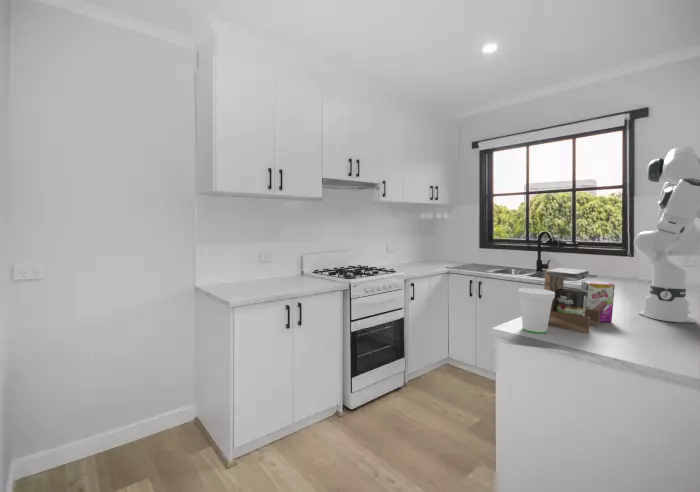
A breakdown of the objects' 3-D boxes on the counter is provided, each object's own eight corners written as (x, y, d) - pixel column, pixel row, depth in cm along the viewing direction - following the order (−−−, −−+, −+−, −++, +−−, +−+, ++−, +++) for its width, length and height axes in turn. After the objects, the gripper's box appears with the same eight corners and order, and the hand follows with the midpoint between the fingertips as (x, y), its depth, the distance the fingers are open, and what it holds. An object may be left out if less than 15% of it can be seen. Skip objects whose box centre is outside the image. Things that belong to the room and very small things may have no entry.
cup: (548, 327, 143) (551, 289, 142) (556, 336, 132) (558, 295, 131) (514, 324, 147) (516, 287, 146) (518, 333, 135) (520, 292, 134)
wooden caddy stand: (557, 317, 160) (559, 267, 159) (599, 325, 149) (602, 271, 147) (542, 324, 148) (545, 270, 146) (587, 333, 136) (591, 275, 135)
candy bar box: (584, 321, 154) (587, 283, 153) (578, 318, 159) (580, 281, 157) (612, 322, 152) (615, 284, 151) (605, 319, 157) (608, 282, 156)
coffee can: (573, 329, 141) (576, 293, 140) (549, 322, 151) (551, 289, 150) (590, 326, 146) (592, 292, 145) (565, 320, 155) (567, 287, 154)
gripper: (670, 220, 137) (654, 254, 142) (656, 223, 125) (639, 260, 129) (691, 225, 133) (675, 260, 137) (679, 229, 120) (661, 267, 125)
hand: (657, 260), depth 133 cm, fingers closed
